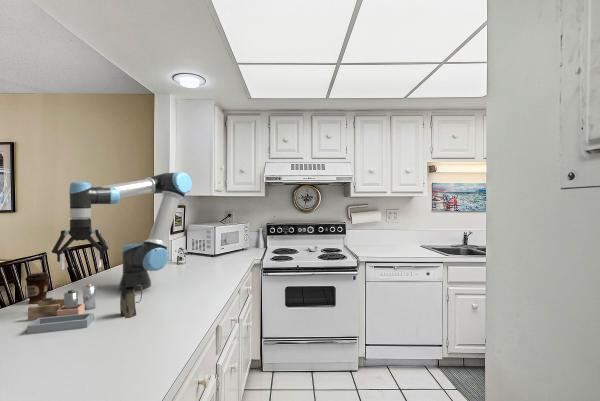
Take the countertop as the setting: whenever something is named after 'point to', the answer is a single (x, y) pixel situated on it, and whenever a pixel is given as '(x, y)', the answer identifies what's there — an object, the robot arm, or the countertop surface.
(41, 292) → the coffee cup
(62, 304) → the checker cradle
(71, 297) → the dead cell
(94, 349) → the countertop surface
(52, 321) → the trough
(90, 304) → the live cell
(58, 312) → the pink square tray
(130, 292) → the mug
